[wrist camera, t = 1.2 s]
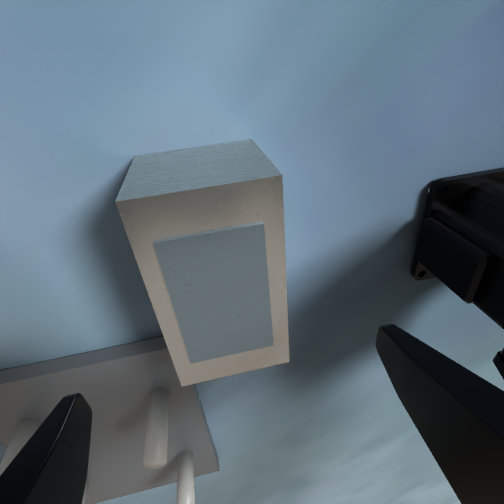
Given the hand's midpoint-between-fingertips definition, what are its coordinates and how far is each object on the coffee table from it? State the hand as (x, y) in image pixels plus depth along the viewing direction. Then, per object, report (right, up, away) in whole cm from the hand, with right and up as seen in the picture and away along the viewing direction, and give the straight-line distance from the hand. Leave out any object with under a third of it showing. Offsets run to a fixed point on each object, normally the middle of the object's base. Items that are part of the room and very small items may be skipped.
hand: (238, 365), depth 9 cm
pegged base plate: (-9, -9, +13) cm, 18 cm away
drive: (-2, +4, +7) cm, 8 cm away
